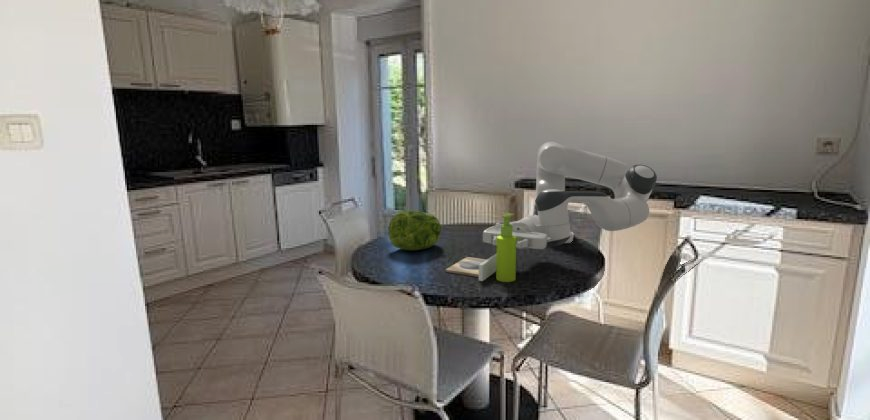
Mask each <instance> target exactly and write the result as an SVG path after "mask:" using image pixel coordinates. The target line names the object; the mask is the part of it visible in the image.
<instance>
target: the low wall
mask: <svg viewBox="0 0 870 420" xmlns="http://www.w3.org/2000/svg"><path fill="white" fill-rule="evenodd" d="M494 273H496V253H495V254H493V255H492V256H490V257H489V258H486V260H485V261H484V262H482V263H481V264H479V277H478V282H483V281H485V280H486V279H487V278H489V277H490V276H492V275H493V274H494Z"/></svg>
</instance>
